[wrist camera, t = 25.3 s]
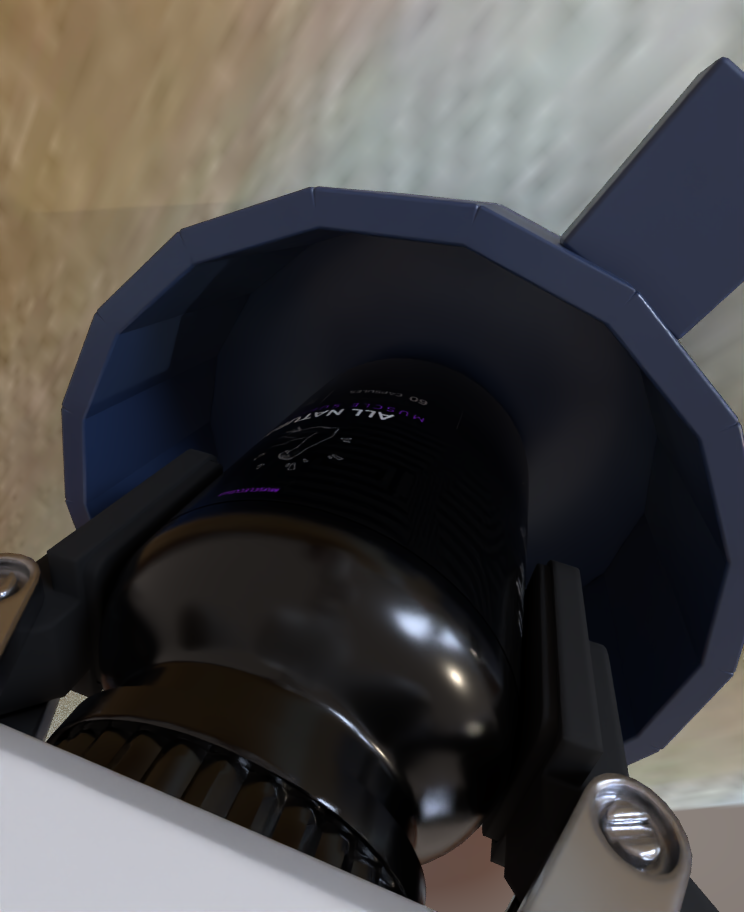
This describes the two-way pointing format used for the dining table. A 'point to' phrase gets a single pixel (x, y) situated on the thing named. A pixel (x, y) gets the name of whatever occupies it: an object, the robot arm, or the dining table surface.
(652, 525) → the pan
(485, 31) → the dining table surface
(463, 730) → the supplement bottle
